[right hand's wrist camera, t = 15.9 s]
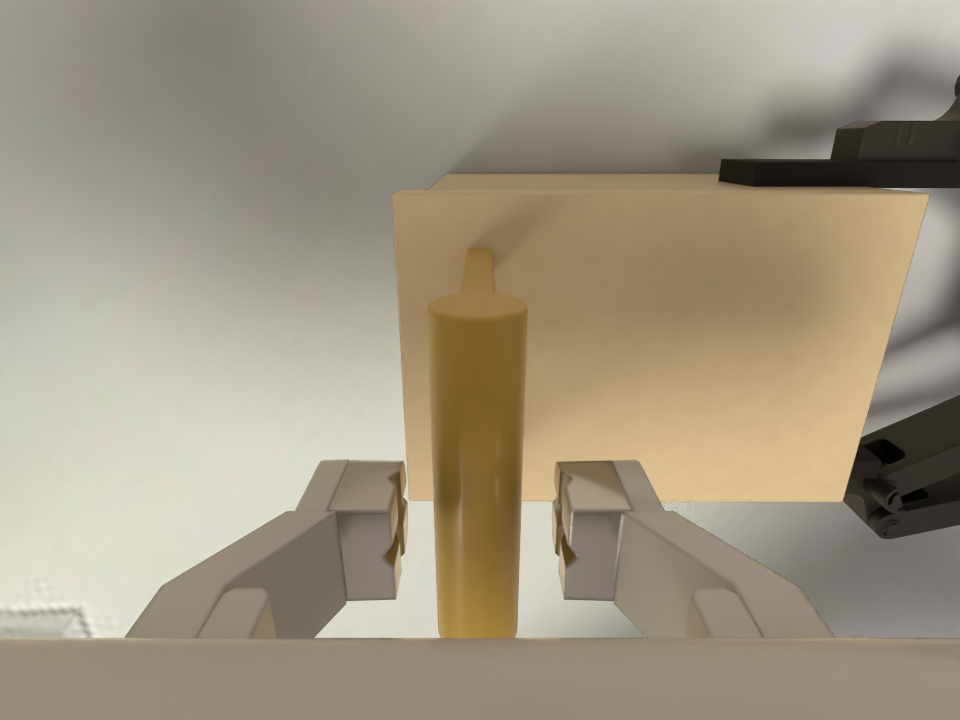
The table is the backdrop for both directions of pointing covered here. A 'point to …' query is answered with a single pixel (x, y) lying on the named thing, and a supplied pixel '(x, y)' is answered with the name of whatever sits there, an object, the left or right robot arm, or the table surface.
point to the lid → (633, 353)
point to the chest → (602, 182)
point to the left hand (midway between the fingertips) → (711, 325)
